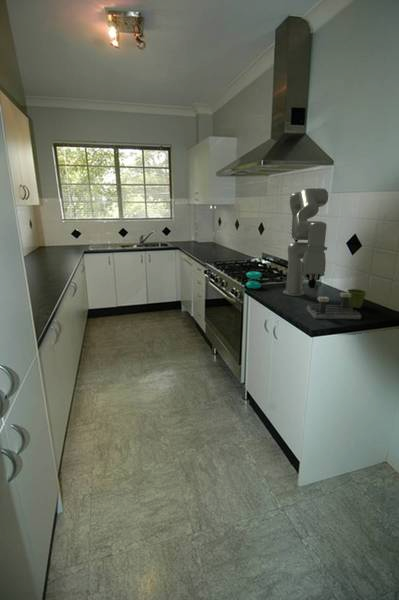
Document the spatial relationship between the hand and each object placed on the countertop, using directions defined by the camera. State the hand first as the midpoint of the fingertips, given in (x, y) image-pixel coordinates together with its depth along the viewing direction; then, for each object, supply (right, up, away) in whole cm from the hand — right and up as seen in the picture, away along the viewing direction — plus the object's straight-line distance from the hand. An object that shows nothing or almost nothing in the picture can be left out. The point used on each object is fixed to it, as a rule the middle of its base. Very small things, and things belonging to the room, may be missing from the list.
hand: (311, 287), depth 152 cm
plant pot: (+31, -10, +20) cm, 38 cm away
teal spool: (-18, +2, +60) cm, 63 cm away
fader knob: (+7, -12, +4) cm, 14 cm away
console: (+14, -13, +8) cm, 21 cm away
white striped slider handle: (+21, -10, +11) cm, 26 cm away
